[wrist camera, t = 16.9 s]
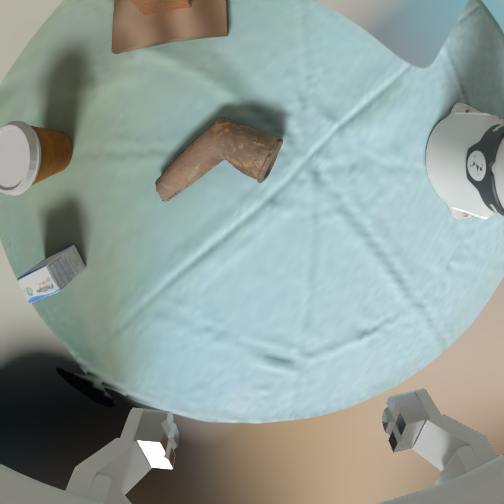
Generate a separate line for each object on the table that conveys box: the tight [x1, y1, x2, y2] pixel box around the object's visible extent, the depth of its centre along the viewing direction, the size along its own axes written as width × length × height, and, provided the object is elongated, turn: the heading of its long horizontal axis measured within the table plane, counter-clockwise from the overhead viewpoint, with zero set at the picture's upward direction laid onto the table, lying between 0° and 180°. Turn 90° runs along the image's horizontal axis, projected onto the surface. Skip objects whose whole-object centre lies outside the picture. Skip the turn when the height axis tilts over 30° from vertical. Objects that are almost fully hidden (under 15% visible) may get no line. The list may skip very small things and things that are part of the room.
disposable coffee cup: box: [0, 121, 72, 196], centre depth 33 cm, size 10×10×12 cm
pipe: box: [156, 117, 283, 201], centre depth 38 cm, size 6×17×10 cm
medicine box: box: [17, 245, 86, 303], centre depth 41 cm, size 8×4×9 cm, turn 110°
